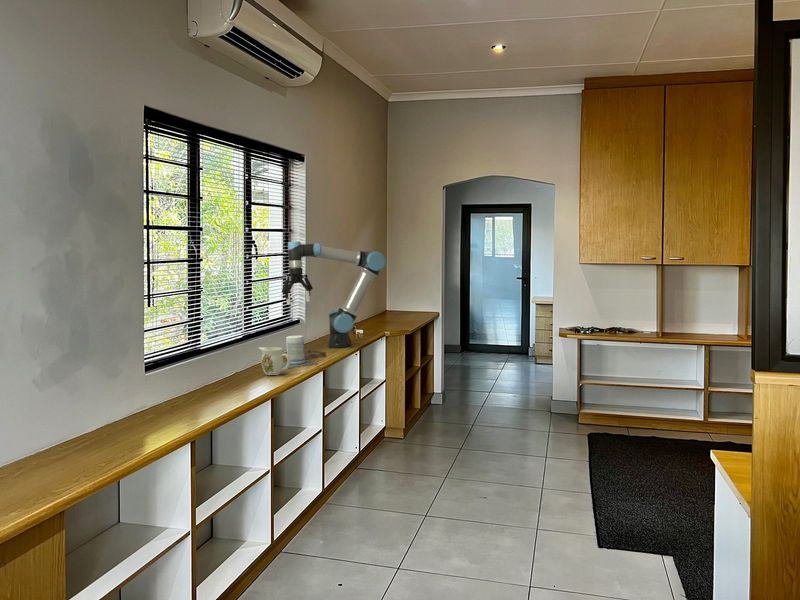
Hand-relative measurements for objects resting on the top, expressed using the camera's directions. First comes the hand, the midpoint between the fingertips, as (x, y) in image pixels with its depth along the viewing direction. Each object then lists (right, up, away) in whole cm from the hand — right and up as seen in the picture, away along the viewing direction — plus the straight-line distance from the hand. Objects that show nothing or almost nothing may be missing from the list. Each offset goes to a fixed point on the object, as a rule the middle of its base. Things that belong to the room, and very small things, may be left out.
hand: (298, 303), depth 412 cm
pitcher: (-3, -36, -62) cm, 72 cm away
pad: (+4, -33, -35) cm, 48 cm away
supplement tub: (+4, -33, -35) cm, 48 cm away
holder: (+7, -31, -13) cm, 34 cm away
